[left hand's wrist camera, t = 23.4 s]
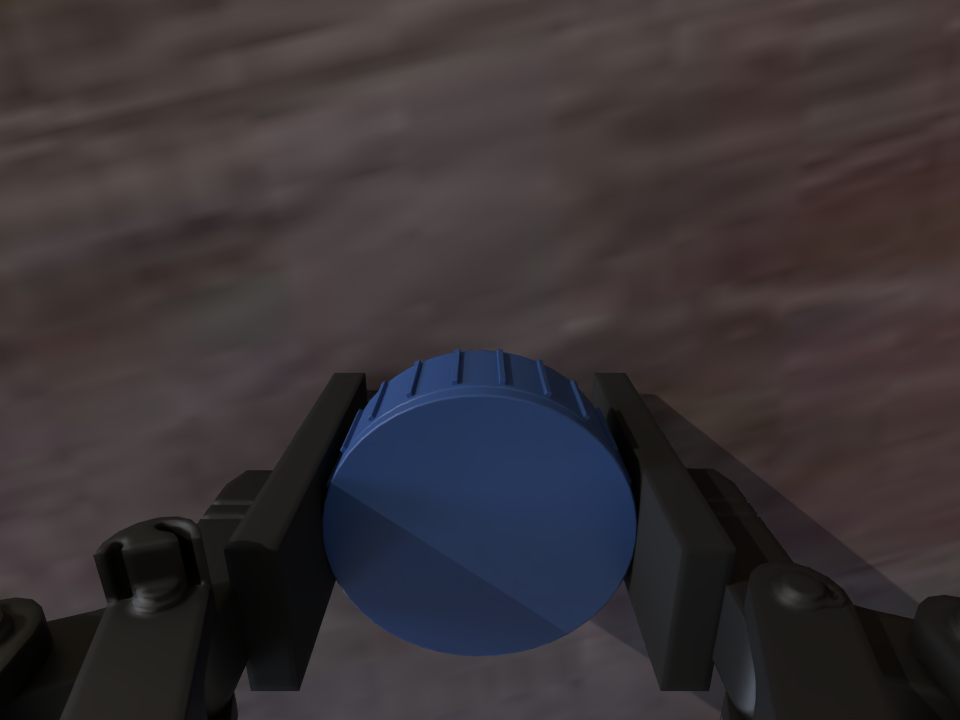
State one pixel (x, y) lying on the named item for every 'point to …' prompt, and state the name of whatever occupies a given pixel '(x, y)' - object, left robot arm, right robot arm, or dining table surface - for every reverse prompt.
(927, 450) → the dining table surface
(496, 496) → the lid
